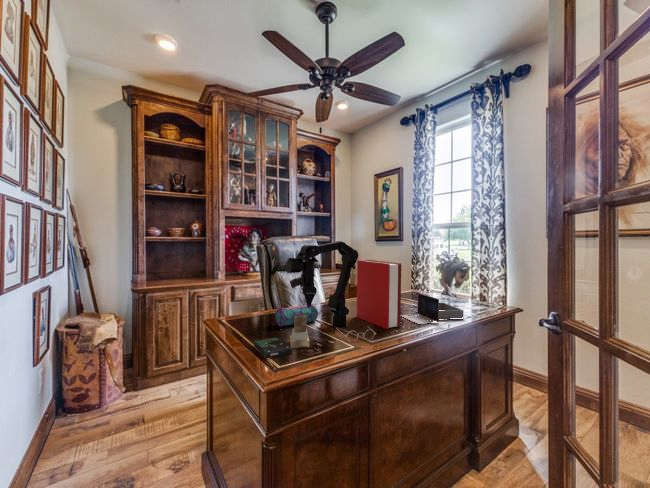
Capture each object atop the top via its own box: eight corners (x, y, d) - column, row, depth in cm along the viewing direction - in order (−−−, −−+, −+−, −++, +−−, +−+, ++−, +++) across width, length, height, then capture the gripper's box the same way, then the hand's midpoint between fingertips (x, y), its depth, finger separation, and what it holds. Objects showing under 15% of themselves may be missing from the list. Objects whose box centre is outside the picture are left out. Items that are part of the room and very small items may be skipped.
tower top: (306, 335, 127) (306, 328, 126) (307, 340, 121) (307, 332, 121) (292, 335, 126) (292, 328, 126) (292, 340, 120) (292, 333, 120)
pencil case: (309, 318, 162) (309, 301, 162) (318, 322, 155) (318, 304, 155) (274, 324, 150) (274, 306, 150) (282, 329, 143) (282, 309, 143)
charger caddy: (443, 310, 185) (443, 302, 185) (463, 319, 164) (463, 310, 164) (416, 311, 182) (416, 303, 182) (434, 320, 162) (434, 311, 162)
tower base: (307, 341, 127) (307, 334, 127) (309, 347, 120) (309, 340, 120) (289, 342, 126) (290, 335, 126) (290, 348, 119) (290, 341, 119)
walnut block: (304, 328, 126) (305, 314, 126) (306, 331, 122) (306, 317, 122) (294, 329, 125) (294, 314, 125) (295, 332, 121) (295, 317, 121)
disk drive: (292, 355, 113) (277, 342, 125) (292, 348, 113) (277, 336, 125) (266, 361, 107) (253, 347, 120) (266, 353, 107) (253, 340, 120)
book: (400, 327, 148) (401, 263, 148) (388, 329, 144) (389, 263, 144) (366, 314, 172) (367, 259, 172) (355, 316, 168) (355, 260, 167)
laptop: (399, 316, 170) (399, 293, 170) (418, 315, 174) (418, 292, 173) (418, 325, 153) (419, 300, 152) (438, 323, 157) (439, 299, 156)
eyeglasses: (344, 343, 126) (344, 331, 125) (331, 330, 144) (331, 320, 143) (378, 340, 130) (378, 329, 130) (362, 328, 148) (362, 318, 148)
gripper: (290, 269, 147) (289, 301, 148) (291, 274, 129) (291, 310, 129) (312, 269, 149) (312, 300, 149) (317, 274, 130) (316, 309, 131)
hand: (307, 305), depth 139 cm, fingers open, 9 cm apart
